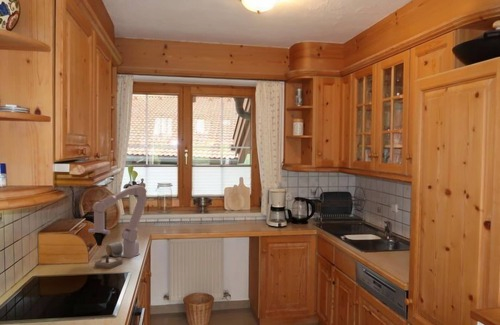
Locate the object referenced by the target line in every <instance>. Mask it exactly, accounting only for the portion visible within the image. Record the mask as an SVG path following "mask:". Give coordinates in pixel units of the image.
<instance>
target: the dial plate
mask: <svg viewBox="0 0 500 325" xmlns="http://www.w3.org/2000/svg"><path fill="white" fill-rule="evenodd" d="M105 259H106V257H104V258H102V259H98V260H96V261H94V267H95V268H103V269H108V270H111V269H113V268H116V267H118V266H121V265H123V261H122V258H120V257H112V256H111V257H110V256H109V259H115V260H116V261H114V262H112V263H103V262H101V261H102V260H105Z"/></svg>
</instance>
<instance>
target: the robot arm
mask: <svg viewBox="0 0 500 325" xmlns="http://www.w3.org/2000/svg"><path fill="white" fill-rule="evenodd" d="M147 192H148V191H147V189H146V187H145V186H143V185H138V184H133V185H131V186H128V187H127V188H125V189H124V190H122V191H120V192H118V193H116V194H115V195H112V194H111V195H107V196H106V198H103V199H100V200H99V201H96V202H94V203H93V205H92V207H91V208H92V210H93V228H88V229H87V232H88V233H89V234H90V233H91V234H92V233H93V234H92V236H93V237H94V240H95V242H96V246H97V247H99V246H102V244H103V241H104V238H105V236H107V235H111V230H109V229H105V228H106V227H105V225H106V224H105V223H106V222H105V211H106V210H107V209H108V208H110V207H112V206H115V205H116V204H117V202H118V201H119V200H121V199H123V198H125V197H127V196H130V195H131V196H133V197H135V199H136V203H135V206H134V209H133V212H132V215H131V216H130V217H131V218H130V220H129V223H128V225H127V226H126V227H125V228H124V230H123V231H122V233H121V238H122V239H123V242H122V247H123V252H122V255H121V256H120V257H119V258H128V259H131V258H132V259H133V258H134V257H136V256H139V255H141V253H140V244H139V241H138V232H139V230H138V226H139V224H140V223H139V222H140V220H141V217H142V215H143V211H144V210H145V208H146V204H147V199H148V198H147Z"/></svg>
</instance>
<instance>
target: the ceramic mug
mask: <svg viewBox="0 0 500 325" xmlns="http://www.w3.org/2000/svg"><path fill="white" fill-rule="evenodd" d="M105 250H106V251H105V252H106V255H109V257H110V256H111V257H113V258H121V257H120V256H121V255H123V243H122V242H121V241H116V242H113V243H109V244H107V245H106V246H105Z"/></svg>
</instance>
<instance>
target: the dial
mask: <svg viewBox="0 0 500 325" xmlns="http://www.w3.org/2000/svg"><path fill="white" fill-rule="evenodd" d="M109 257H110V256H109V255H108V254H106V255H105V258H106V259H105V260H102V261H101V262H103V263H112V262H114V261H116V260H115V259H109Z"/></svg>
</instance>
